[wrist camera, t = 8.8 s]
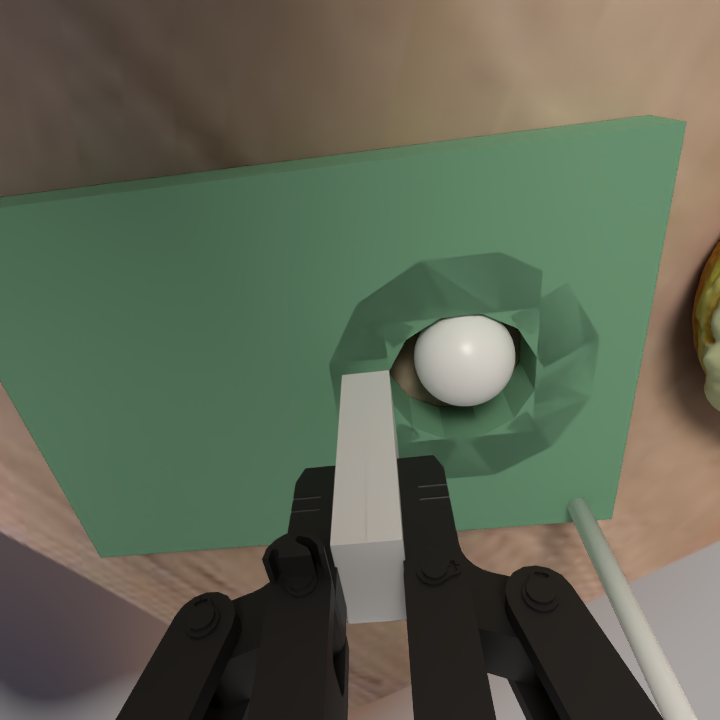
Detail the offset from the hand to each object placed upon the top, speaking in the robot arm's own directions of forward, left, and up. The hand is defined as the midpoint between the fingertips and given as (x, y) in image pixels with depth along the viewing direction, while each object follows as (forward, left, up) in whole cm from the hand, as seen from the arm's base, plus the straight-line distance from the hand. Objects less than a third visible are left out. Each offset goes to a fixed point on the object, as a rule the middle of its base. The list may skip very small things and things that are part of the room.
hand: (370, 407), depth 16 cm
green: (0, -2, -3) cm, 4 cm away
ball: (-1, +3, -2) cm, 4 cm away
